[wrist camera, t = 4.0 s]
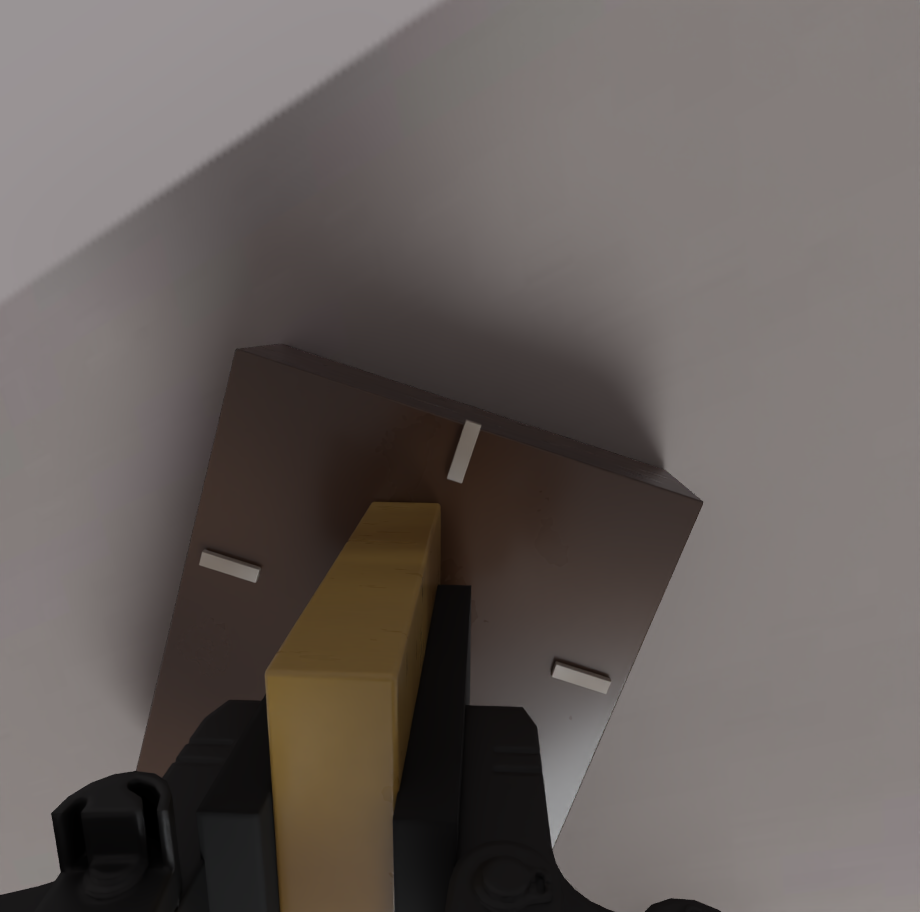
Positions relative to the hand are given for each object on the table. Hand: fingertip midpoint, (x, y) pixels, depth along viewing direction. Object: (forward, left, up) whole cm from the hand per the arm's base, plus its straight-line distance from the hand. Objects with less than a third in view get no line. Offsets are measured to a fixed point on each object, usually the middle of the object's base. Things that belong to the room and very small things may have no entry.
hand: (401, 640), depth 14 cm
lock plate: (+2, 0, -4) cm, 4 cm away
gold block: (0, 0, -1) cm, 1 cm away
